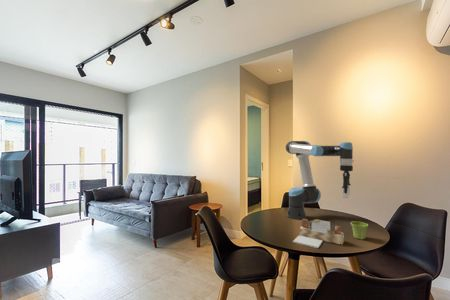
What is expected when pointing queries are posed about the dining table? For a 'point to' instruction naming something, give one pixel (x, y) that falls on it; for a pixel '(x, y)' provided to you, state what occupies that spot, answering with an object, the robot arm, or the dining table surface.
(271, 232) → the dining table surface
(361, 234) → the plant pot
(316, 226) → the lever cap
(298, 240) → the rubber mat
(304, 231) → the hand plane
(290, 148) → the robot arm
